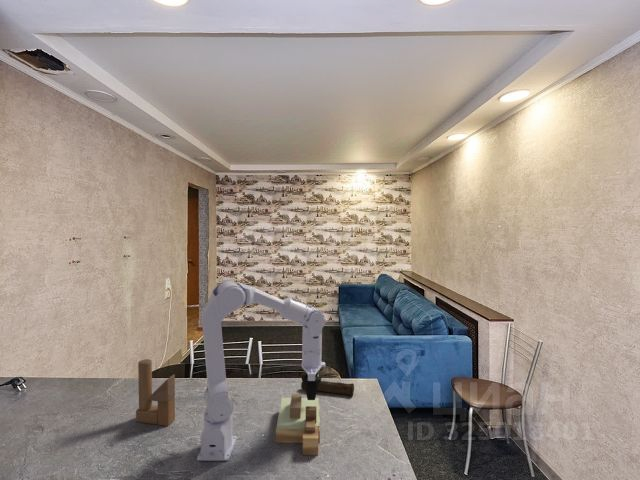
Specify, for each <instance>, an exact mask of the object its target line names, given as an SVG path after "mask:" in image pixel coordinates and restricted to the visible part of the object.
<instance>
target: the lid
mask: <svg viewBox="0 0 640 480" xmlns="http://www.w3.org/2000/svg"><path fill="white" fill-rule="evenodd" d="M280 401H281V402H280V405H281V406H280V405H279V412H278V416H279V417H277V421H278V422H276V427H277V429H303V427H306V423H305V421H306V406H316V410H317V411H316V423H315V427H318V430H319V412H320V400H319V397H316V398H315V400H308V399H307V397H302V393H291V396H290V397H281V400H280Z"/></svg>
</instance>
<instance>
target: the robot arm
mask: <svg viewBox="0 0 640 480" xmlns="http://www.w3.org/2000/svg"><path fill="white" fill-rule="evenodd" d="M252 304H258V305H261V306H263V307H267V308H269V309H272V310H275V311H278V313H279V316H280V317H281V318H283V319H285V320H288V321H291V322H294V323H295V324H298V325H302V332H301V333H302V336H301V337H302V339H301V341H302V342H301V345H302V346H301V350H302V351H301V366H300V367H302V369H303V370H304V373H305V374H301V383H302V382H303V383H304V386H305V389H306V390H305V393H306V398H307V399H308V400H315V398H317V393H318V391H317V388H318V385H319V383H320V382H321V381H322V375H321V376H318V375H319V373H320V370H321V369H322V368H325V367H326V362H325V361H322V357H323V355H322V350H323V349H322V347H323V345H322V344H323V343H322V341H323V340H322V339H323V328H324V327H325V325H326V321H327V319H325V315H324V313H323V312H322V311H320V310H319V309H317V308H316V307H313V306H312V305H311V304H309V303H307V304H305V303H303V302H300V301H299V299H298V298H297V297H292V298H290V297H286V298H284V299H281V298H279V297H277V296H275V295H271V294H269V293H268V292H265V291H263V290H261V289H259V288H256V287H254V286H251V285H247V284H245V283H241V282H237V283H236V282H235V281H234V280H232V279H226V280H223V281H221V282H220V283H219V284H217V285H216V286H215V287H214V288H213V289H212V291H211V294H210V297H209V298H208V300H207V302H206V304H205V305H204V308H203V310H202V312H201V324H202V325H201V326H202V327H201V328H202V334H203V347H204V357H205V370H206V379H207V380H206V388H205V391H204V397H203V398H204V401H205V404H206V409H205V411H204V413H203V430H202V432H201V435H200V450H199V453H198V455H197V458H196V461H210V462H211V461H213V462H214V461H219V462H220V461H228V460H229V459H230V458H231V454H232V452H233V448H234V447H235V443H236V441H237V439H238V438H237V435H233V412H234V404H233V401H232V399H231V397H230V393H229V387H228V383H227V376H226V374H227V373H226V363H225V354H224V343H223V342H224V339H223V331H222V330H223V328H222V322H223V321H224V319H225V318H226V317H227V316H229V315H230V314H231V313H234V312H235V311H237V310H239V309H240V308H241V307H242V306H243V305H245V306H246V307H247V306H251V305H252ZM229 461H230V460H229Z"/></svg>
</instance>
